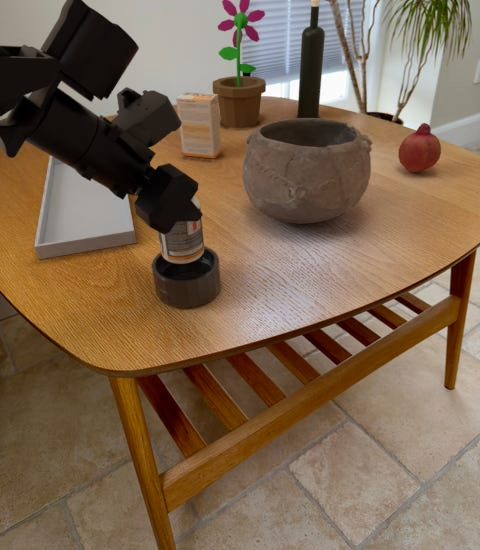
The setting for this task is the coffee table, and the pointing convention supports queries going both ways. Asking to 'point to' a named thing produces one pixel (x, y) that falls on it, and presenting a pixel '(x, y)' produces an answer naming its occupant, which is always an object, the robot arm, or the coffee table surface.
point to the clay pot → (306, 169)
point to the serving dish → (80, 215)
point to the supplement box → (199, 124)
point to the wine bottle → (311, 66)
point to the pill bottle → (183, 240)
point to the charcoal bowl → (187, 280)
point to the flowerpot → (239, 89)
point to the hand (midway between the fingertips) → (187, 208)
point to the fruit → (420, 150)
